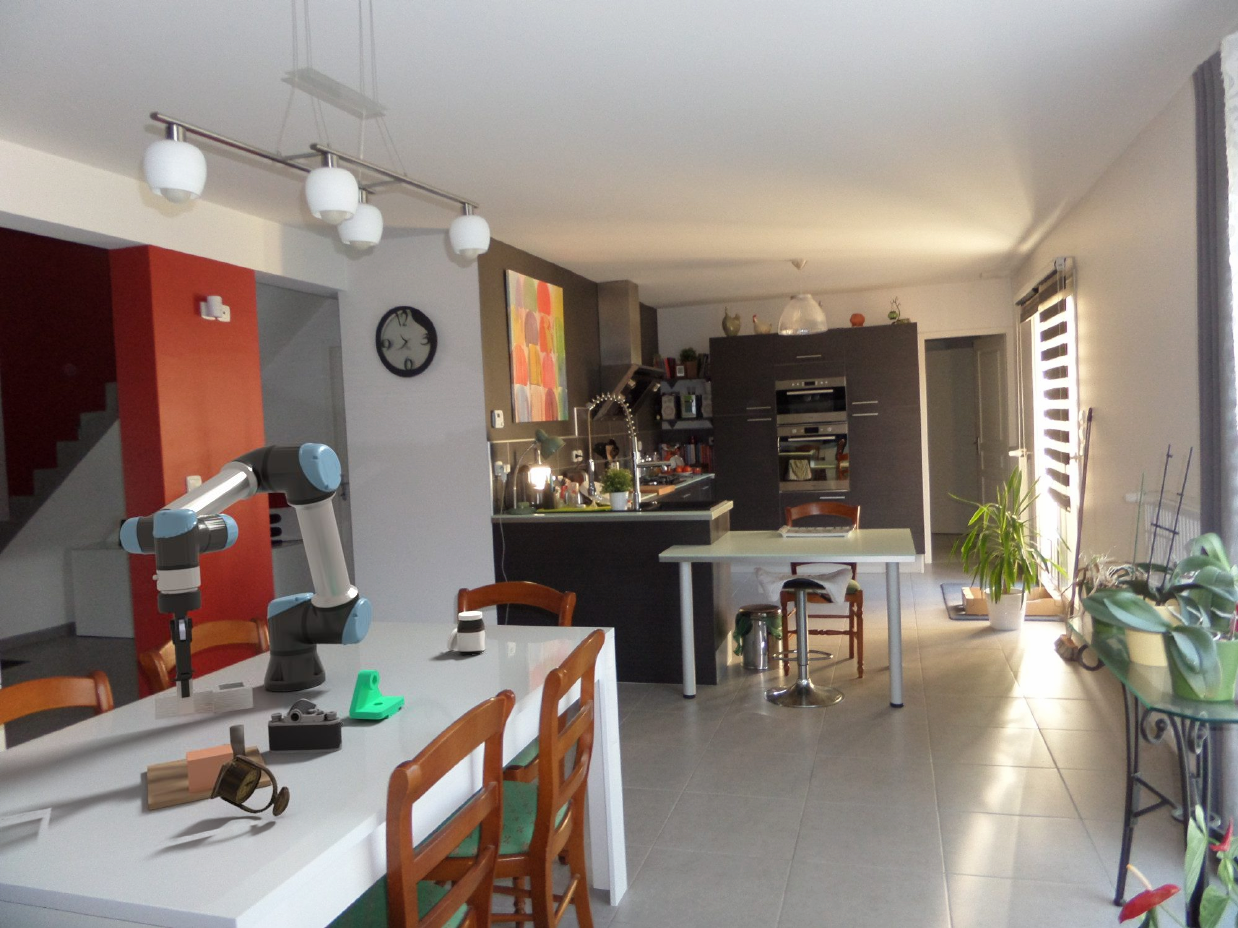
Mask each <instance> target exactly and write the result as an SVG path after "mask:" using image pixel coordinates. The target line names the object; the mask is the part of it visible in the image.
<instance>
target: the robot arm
mask: <svg viewBox="0 0 1238 928" xmlns="http://www.w3.org/2000/svg"><path fill="white" fill-rule="evenodd" d="M341 466H342V465H341V463H340V460H339V457H338V456H337V453H336V452H335V451H334V450H333V449H332V448H331V447H330V446H328V445H327V444H323V443H313V442H306V443H293V444H292V443H291V444H270V445H269V444H268V445H264V446H261V447H257V448H254V449H252V450H250V451H248V452H245V453H244V454H241V455H240V456H238V457H236V458H234V459H232V460H231V461H229V462H227V463H225V464H224V465H223V466H222V467H221V469H220V471H219V473H217V474H216V475H214V476H213V477H211V478H210V479H208V480H206V481H204V482H203V483H201V484H200V485H198V486H196V487H195V488H193V489H192V490H190V491H188V492H187V493H185V494H184V495H181V496H180V497H179V498H177V499H175V500H174V501H172V502H171V503H169V504H167V505H165V506H163V507H162V508H160V509H159V510H157V511H156V512H154V513H152V514H151V515H148V516H141V515H140V516H137V517H131V518H128V519H127V520H125V521H124V522H123V524H122V526H121V529H120V533H119V539H120V543H121V546H122V547H123V549H124V550H125V551H126V552H129V553H130V554H141V555H142V554H143V555H153V554H154V555H155V569H156V574H154V575H153V576H152V580H154V581H156V589H157V590H158V591H159V593H158V594H157V596H156V597H157V609H158V612H159V613H161V614H173V619H170V620H169V621H168V622H169V630H170V632H171V633H170V634H171V641H172V642H171V643H172V645H173V646H174V657H175V665H174V669H175V674H176V676H175V678H172V681H173V682H172V683H176V692H177V695H178V712H179V715H183V714H189V713H194V697H193V690H194V683H193V675H194V674H195V668H193V667H192V650H191V649H192V648H191V643H192V642H193V630H192V629H193V627H194V624H193V623H194V622H193V618H192V617H188V612H192V611H197V610H199V609H201V608H202V593H201V590H200V588H199V587H200V586H201V583H202V582H201V568H200V562H199V561H200V560H199V559H200V558H199V557H200V556H199V555H202V554H209V553H215V552H221V551H223V550H226V549H229V548H231V547H232V546H234V544H235V543H236V541H237V539H238V537H239V526H238V524H237V522H236V520H235V519H234V518H233V517H232V516H231V515H229V514H225V513H222V512H223V511H224V510H226V509H228V508H229V507H231V506H232V505H234V504H235V503H237V502H238V501H240V500H241V501H242V500H243V501H244V500H245V501H246V500H248V499H251V498H252V497H253V496H255V495H259V494H268V493H270V494H271V493H272V494H273V493H278V494H279V493H284V496H285V499H286V503H287V504H288V505H289V506H291V507H292V508H294V509H295V512H296V515H297V520H298V524H299V528H300V529H299V530H300V533H301V537H302V541H303V545H304V550H305V554H306V558H307V561H308V567H309V571H310V575H311V578H312V579H311V580H312V583H313V587H314V591H315V593H313V592H302V593H297V594H291V595H287V596H282V597H279V598H275V599H273V600H271V601H270V602H268V606H267V616H266V620H267V627H268V643H269V644H268V645H269V646H268V647H269V659H268V664H267V667H266V671H265V674H264V680H263V682H264V683H263V684H264V689H265V690H267V691H271V692H293V691H297V690H298V691H301V690H306V689H309V688H313V687H317V686H319V685H321V684H323V683H325V682H326V679H327V678H326V670H325V668H324V666H323V662H322V660H321V658H320V656H319V655H320V654H319V653H318V647H317V645H342V646H347V645H357V644H359V643H362V641H364V639H365V638H366V637H367V635H368V633H369V630H370V629H371V628H370V627H371V623H372V616H373V615H372V614H373V608H372V604H371V602H370V601H369V599H367V598H365V597H360V594H359V590H358V588H357V587H356V586H355V585H353V584H351V583H350V577H349V572H348V569H347V563H346V560H345V557H344V556H345V555H344V551H343V546H342V542H341V537H340V533H339V529H338V524H337V520H336V517H335V512H334V511H335V510H334V508H333V507H334V506H333V502H332V500H333V498H334V496H335V495H336V493H337V491H336V490H337V489H338V487H339V486H340V483H341V480H342V476H341V475H342V467H341ZM189 715H190V714H189ZM183 716H184V715H183Z"/></svg>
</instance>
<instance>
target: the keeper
mask: <svg viewBox="0 0 1238 928" xmlns="http://www.w3.org/2000/svg"><path fill="white" fill-rule="evenodd" d="M185 759H187V765H188V781H189V793H193V792H198V791H203V790H208V789H213V788H214V785H215V782H216V779H217V777H218V774H219V772H220V769H221V767H222V765H223V764H225V763H227V762H229V761H231V760H232V759H234V758H233V750H232V747H231V744H230V743H229V744H224V745H223V744H221V745H219V746H218V745H217V746H213V747H206V748H201V749H196V750H191V751H186V752H185Z"/></svg>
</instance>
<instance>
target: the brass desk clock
mask: <svg viewBox="0 0 1238 928" xmlns="http://www.w3.org/2000/svg"><path fill="white" fill-rule="evenodd" d="M265 766H266V765H265ZM265 766H263V765H261V764H259V763H257V762H255V761H253V760H251V759H249V758H247V757H245V756H242V755H237V756H236V757H235V758H234V759H232V760H231V761H229V762H227V763H225V764H223V765H222V767H221V769H220V772H219V774H218V777H217V779H216V782H215V785H214V788H213V791H212V794H211V797H210V798H209V799H210V800H214V799H217V798H219V797H220V799H221V800H223V801H224V802H226V803H228V804H230V805H232V806H234V807H236V808H238V809H240V810H242V811H244V812H247V813H250V814H253V815H254V814H260V813H263V812H266V810H268V809H269V808H271V807H272V805H273V807H272V810H271V811H272V816H274V817H279V816H281V815H282V814H283V813H284V812H285V811H286V809H287V808H288V805H289V802H290V799H291V798H290V797H291V795H290V793H291V792H290V789H289V788H288V787H287V786H282V787H281V788H280V790H279V791H278V781H277V779H276V777H275V776H274V774H273V772H272V770H270V768H269V767H267V766H266V767H265ZM261 770H262V771H264V772H265V773H266V774H267V775H268V776H269V778H270V780H271V786H272V793H271V797H270V800H269V802H268V803H267V805H266V806H264V807H263V808H260V809H253V808H251V807H249V806H247V805H245V804H244V803H245V802H247V801H248V800H249V799H250V798H251V797H252V795H253V794H254V793H255V791H256V790H257V789H258V788H257V786H258V784H259V781H260V779H261V772H262V771H261Z"/></svg>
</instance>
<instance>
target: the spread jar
mask: <svg viewBox="0 0 1238 928" xmlns="http://www.w3.org/2000/svg"><path fill="white" fill-rule="evenodd" d="M457 617H458V622H457V625H456V627H457V628H455V629H453V631H452V632H451V633H450V635H449V636H448V637H447V638H448V639H447V642H446V648H447V649H448V650H449V651H452V650H455V649H457V652H458V655H460V654H461V656H465V655H470V656H473V655H472V654H478V655H481V654H480V653H482V652H484V651H485V652H486V646H487V645H486V644H487V643H486V625H485V621H484V619H483V612H482V611H479V610H478V611H477V610H472V611H471V610H469V611H462V612H459V613H458V616H457ZM455 651H456V650H455ZM452 652H453V651H452ZM485 652H484V653H485ZM482 654H483V653H482Z"/></svg>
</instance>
